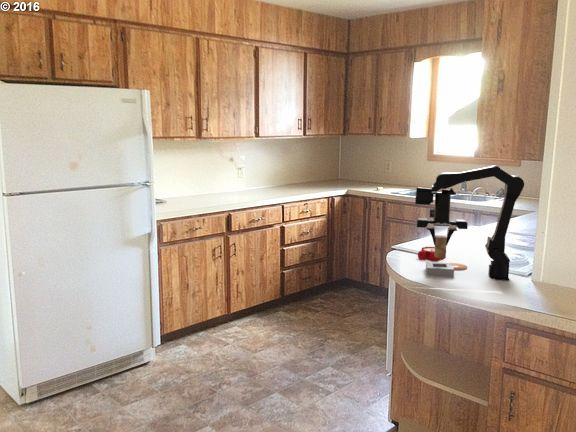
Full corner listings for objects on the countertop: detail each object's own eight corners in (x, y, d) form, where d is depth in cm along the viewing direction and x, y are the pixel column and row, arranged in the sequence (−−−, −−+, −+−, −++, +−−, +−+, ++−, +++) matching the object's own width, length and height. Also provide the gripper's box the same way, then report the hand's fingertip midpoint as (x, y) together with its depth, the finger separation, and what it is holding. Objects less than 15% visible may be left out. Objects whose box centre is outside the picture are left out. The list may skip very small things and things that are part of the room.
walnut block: (444, 255, 208) (445, 235, 207) (445, 258, 204) (446, 237, 203) (434, 255, 209) (435, 235, 208) (434, 257, 205) (435, 237, 204)
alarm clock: (447, 248, 236) (439, 247, 223) (446, 262, 236) (438, 262, 223) (424, 245, 241) (415, 244, 228) (422, 259, 241) (413, 259, 228)
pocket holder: (451, 271, 212) (451, 262, 211) (453, 278, 202) (454, 269, 201) (425, 270, 214) (425, 261, 213) (426, 276, 204) (427, 268, 204)
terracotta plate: (465, 266, 219) (465, 263, 219) (468, 271, 211) (468, 269, 211) (443, 264, 221) (443, 262, 221) (444, 270, 213) (444, 268, 212)
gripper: (465, 203, 209) (463, 241, 212) (416, 202, 213) (415, 239, 216) (468, 207, 198) (466, 248, 201) (417, 206, 202) (416, 245, 205)
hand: (440, 245), depth 206 cm, fingers closed on walnut block, 4 cm apart
